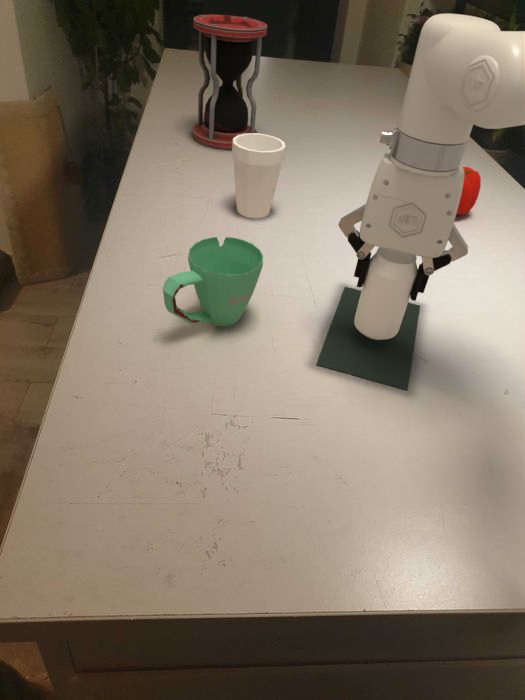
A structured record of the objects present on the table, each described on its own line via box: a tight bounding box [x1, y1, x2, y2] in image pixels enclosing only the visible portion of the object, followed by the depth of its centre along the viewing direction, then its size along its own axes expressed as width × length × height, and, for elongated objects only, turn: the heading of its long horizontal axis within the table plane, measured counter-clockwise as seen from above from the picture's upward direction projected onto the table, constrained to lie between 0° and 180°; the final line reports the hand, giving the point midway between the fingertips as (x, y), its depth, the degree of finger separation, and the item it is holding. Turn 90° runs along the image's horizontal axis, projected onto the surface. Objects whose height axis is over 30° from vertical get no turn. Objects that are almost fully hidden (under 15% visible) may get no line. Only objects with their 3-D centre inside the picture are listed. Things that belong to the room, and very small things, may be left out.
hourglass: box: [192, 13, 268, 150], centre depth 122 cm, size 16×16×25 cm
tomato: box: [456, 166, 482, 216], centre depth 107 cm, size 11×12×9 cm
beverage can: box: [354, 247, 419, 340], centre depth 69 cm, size 6×6×12 cm
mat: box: [316, 286, 421, 391], centre depth 75 cm, size 20×12×1 cm, turn 162°
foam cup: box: [231, 132, 287, 219], centre depth 97 cm, size 10×9×13 cm
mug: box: [162, 236, 264, 327], centre depth 70 cm, size 15×10×10 cm
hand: (387, 287), depth 68 cm, fingers closed on beverage can, 6 cm apart
